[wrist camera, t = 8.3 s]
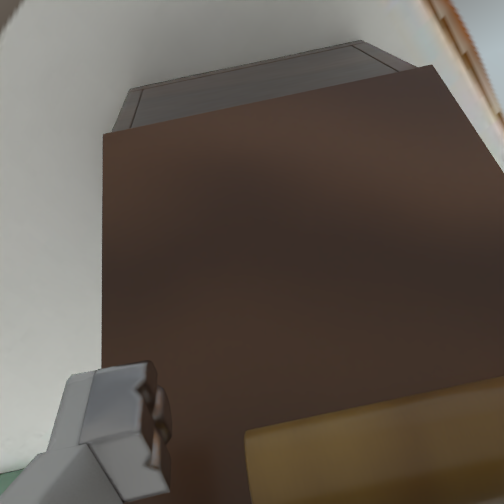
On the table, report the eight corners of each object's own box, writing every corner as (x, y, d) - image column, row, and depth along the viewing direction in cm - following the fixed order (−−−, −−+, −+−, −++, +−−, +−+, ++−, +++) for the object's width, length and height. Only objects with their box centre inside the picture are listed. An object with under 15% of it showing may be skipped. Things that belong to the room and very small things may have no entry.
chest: (370, 261, 33) (416, 338, 26) (195, 298, 33) (197, 385, 26) (362, 39, 25) (425, 70, 18) (129, 88, 24) (108, 137, 18)
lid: (717, 543, 9) (1047, 535, 5) (113, 672, 9) (-51, 770, 5) (428, 81, 18) (463, -64, 14) (110, 149, 18) (46, 23, 14)
